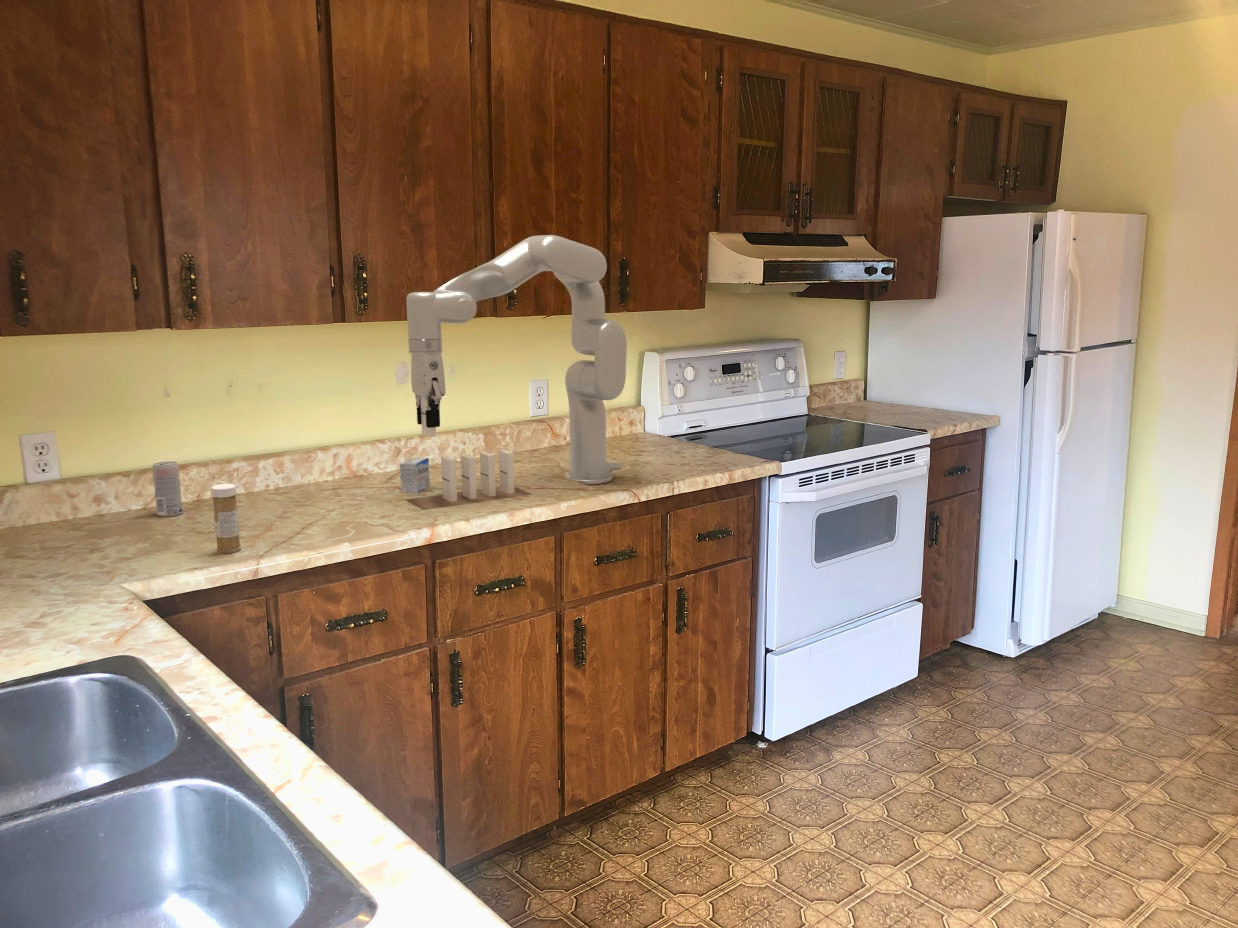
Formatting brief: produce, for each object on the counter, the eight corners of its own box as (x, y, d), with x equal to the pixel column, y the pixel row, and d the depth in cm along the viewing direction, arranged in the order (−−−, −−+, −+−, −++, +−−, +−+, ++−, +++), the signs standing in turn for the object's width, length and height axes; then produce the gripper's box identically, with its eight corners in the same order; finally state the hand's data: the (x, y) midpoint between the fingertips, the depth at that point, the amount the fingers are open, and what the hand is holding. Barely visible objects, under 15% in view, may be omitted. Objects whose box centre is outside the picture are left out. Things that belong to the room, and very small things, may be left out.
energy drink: (177, 510, 227) (172, 460, 224) (186, 514, 223) (181, 463, 221) (153, 514, 223) (148, 463, 221) (162, 518, 219) (157, 467, 217)
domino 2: (449, 497, 233) (447, 456, 231) (457, 501, 228) (455, 459, 226) (442, 497, 232) (440, 457, 230) (450, 502, 227) (448, 460, 225)
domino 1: (428, 433, 227) (427, 390, 225) (436, 436, 223) (434, 393, 221) (421, 433, 226) (419, 391, 224) (429, 436, 222) (427, 393, 220)
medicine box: (418, 498, 237) (416, 463, 235) (401, 497, 238) (399, 463, 236) (430, 491, 245) (429, 457, 243) (414, 490, 245) (412, 457, 244)
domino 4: (487, 491, 238) (486, 451, 236) (496, 495, 234) (494, 455, 232) (480, 492, 237) (479, 452, 235) (489, 496, 233) (487, 455, 231)
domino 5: (506, 489, 240) (504, 449, 238) (514, 493, 236) (513, 452, 234) (499, 490, 239) (498, 450, 237) (508, 493, 235) (506, 453, 233)
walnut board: (511, 489, 245) (511, 485, 245) (532, 498, 235) (532, 494, 235) (405, 504, 231) (405, 499, 230) (423, 514, 221) (422, 509, 220)
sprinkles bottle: (218, 548, 195) (212, 483, 192) (242, 546, 196) (236, 482, 194) (215, 555, 191) (209, 488, 188) (239, 553, 192) (234, 487, 189)
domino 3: (468, 494, 235) (467, 454, 233) (477, 498, 231) (475, 457, 229) (461, 495, 234) (460, 454, 232) (470, 499, 230) (468, 458, 228)
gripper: (455, 348, 215) (458, 429, 219) (427, 343, 229) (430, 419, 233) (423, 350, 211) (426, 432, 215) (396, 345, 225) (400, 422, 229)
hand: (428, 424), depth 224 cm, fingers closed on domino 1, 4 cm apart
